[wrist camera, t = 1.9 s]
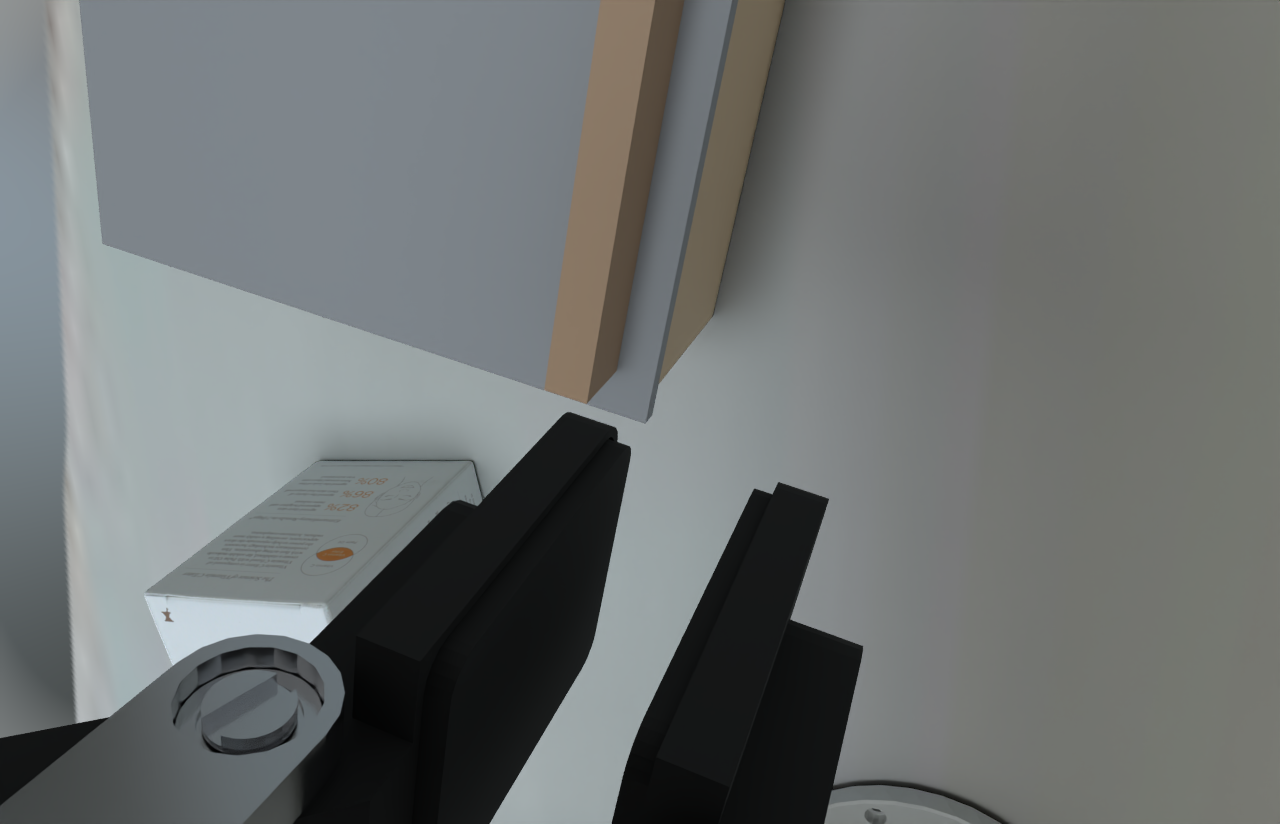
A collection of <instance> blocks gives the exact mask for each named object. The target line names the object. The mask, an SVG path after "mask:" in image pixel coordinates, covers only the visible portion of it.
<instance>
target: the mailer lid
mask: <svg viewBox="0 0 1280 824" xmlns="http://www.w3.org/2000/svg"><path fill="white" fill-rule="evenodd" d="M79 3H80V14H81V24H82V34H83V45H84V55H85V66H86V76H87V87H88V97H89V107H90V118H91V128H92V139H93V149H94V160H95V170H96V180H97V191H98V201H99V212H100V222H101V233H102V243H103V244H105V245H108V246H111V247H114V248H117V249H120V250H123V251H126V252H129V253H132V254H135V255H138V256H141V257H144V258H147V259H150V260H153V261H156V262H159V263H162V264H165V265H168V266H171V267H174V268H177V269H180V270H183V271H186V272H189V273H192V274H195V275H198V276H201V277H204V278H207V279H210V280H213V281H216V282H219V283H222V284H226V285H229V286H232V287H235V288H238V289H241V290H244V291H247V292H250V293H253V294H256V295H259V296H262V297H265V298H268V299H271V300H274V301H277V302H280V303H283V304H286V305H289V306H292V307H295V308H298V309H301V310H304V311H307V312H310V313H313V314H316V315H319V316H322V317H325V318H328V319H331V320H334V321H337V322H340V323H343V324H346V325H349V326H352V327H355V328H358V329H361V330H364V331H367V332H370V333H373V334H376V335H379V336H382V337H385V338H388V339H391V340H394V341H397V342H401V343H404V344H407V345H410V346H413V347H416V348H419V349H422V350H425V351H428V352H431V353H434V354H437V355H440V356H443V357H446V358H449V359H452V360H455V361H458V362H461V363H464V364H467V365H470V366H473V367H476V368H479V369H482V370H485V371H488V372H491V373H494V374H497V375H500V376H503V377H506V378H509V379H512V380H515V381H518V382H521V383H524V384H527V385H530V386H533V387H536V388H539V389H542V390H545V391H548V392H551V393H554V394H557V395H560V396H563V397H566V398H569V399H572V400H576V401H579V402H582V403H585V404H588V405H591V406H594V407H597V408H600V409H603V410H606V411H609V412H612V413H615V414H618V415H621V416H624V417H627V418H630V419H633V420H636V421H639V422H642V423H646V422H647V421H648V419H649V418H650V417H651V416H652V413H653V408H654V403H655V399H656V394H657V389H658V384H659V379H660V375H661V370H662V365H663V360H664V355H665V351H666V346H667V341H668V336H669V331H670V326H671V322H672V317H673V312H674V307H675V302H676V298H677V293H678V288H679V283H680V278H681V274H682V269H683V264H684V259H685V254H686V250H687V245H688V240H689V235H690V230H691V225H692V221H693V216H694V211H695V206H696V201H697V197H698V192H699V187H700V182H701V177H702V173H703V168H704V163H705V158H706V153H707V149H708V144H709V139H710V134H711V129H712V125H713V120H714V115H715V110H716V105H717V100H718V96H719V91H720V86H721V81H722V76H723V72H724V67H725V62H726V57H727V52H728V48H729V43H730V38H731V33H732V28H733V24H734V19H735V14H736V9H737V4H738V0H79Z"/></svg>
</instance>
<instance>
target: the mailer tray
mask: <svg viewBox="0 0 1280 824" xmlns="http://www.w3.org/2000/svg"><path fill="white" fill-rule="evenodd" d="M784 4H785V0H738V4H737V9H736V14H735V19H734V24H733V28H732V33H731V38H730V43H729V48H728V52H727V57H726V62H725V67H724V72H723V76H722V81H721V86H720V91H719V96H718V100H717V105H716V110H715V115H714V120H713V125H712V129H711V134H710V139H709V144H708V149H707V153H706V158H705V163H704V168H703V173H702V177H701V182H700V187H699V192H698V197H697V201H696V206H695V211H694V216H693V221H692V225H691V230H690V235H689V240H688V245H687V250H686V254H685V259H684V264H683V269H682V274H681V278H680V283H679V288H678V293H677V298H676V302H675V307H674V312H673V317H672V322H671V326H670V331H669V336H668V341H667V346H666V351H665V355H664V360H663V365H662V370H661V375H660V379H659V383H660V382H661V381H662V379H663V378H664V377H665V376H666V374H667V373H668V372H669V371H670V369H671V368H672V367H673V366H674V364H675V363H676V362H677V360H678V359H679V358H680V357H681V355H682V354H683V353H684V352H685V350H686V349H687V348H688V347H689V345H690V344H691V343H692V342H693V340H694V339H695V338H696V337H697V335H698V334H699V333H700V332H701V330H702V329H703V328H704V327H705V325H706V324H707V323H708V321H709V320H710V319H711V318H712V316H713V313H714V309H715V304H716V300H717V296H718V291H719V287H720V282H721V278H722V274H723V269H724V265H725V261H726V256H727V252H728V248H729V243H730V239H731V235H732V230H733V226H734V222H735V217H736V213H737V208H738V204H739V200H740V195H741V191H742V187H743V182H744V178H745V174H746V169H747V165H748V161H749V156H750V152H751V147H752V143H753V139H754V134H755V130H756V126H757V121H758V117H759V113H760V108H761V104H762V100H763V95H764V91H765V86H766V82H767V78H768V73H769V69H770V65H771V60H772V56H773V52H774V47H775V43H776V39H777V34H778V30H779V26H780V21H781V17H782V12H783V8H784Z"/></svg>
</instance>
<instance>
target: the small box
mask: <svg viewBox="0 0 1280 824" xmlns="http://www.w3.org/2000/svg"><path fill="white" fill-rule="evenodd" d="M456 500H462V501H465V502H468V503H470V504H473V505H476V506H478V505H479V504H480V503H481V502H482V497H481V493H480V489H479V485H478V481H477V477H476V473H475V469H474V465H473V462H471V461H317V462H315V463H314V464H312V465H311V466H310V467H309V468H307V469H306V470H305V471H303V472H302V473H301V474H299V475H298V476H297V477H295V478H294V479H293V480H291V481H290V482H288V483H287V484H286V485H284V486H283V487H282V488H281V489H279V490H278V491H277V492H275V493H274V494H273V495H271V496H270V497H269V498H268V499H266V500H265V501H264V502H262V503H261V504H260V505H258V506H257V507H256V508H254V509H253V510H252V511H250V512H249V513H248V514H247V515H245V516H244V517H242V518H241V519H240V520H239V521H237V522H236V523H235V524H233V525H232V526H231V527H230V528H228V529H227V530H226V531H224V532H223V533H222V534H220V535H219V536H218V537H216V538H215V539H214V540H212V541H211V542H210V543H209V544H207V545H206V546H205V547H203V548H202V549H201V550H200V551H198V552H197V553H196V554H194V555H193V556H192V557H191V558H189V559H188V560H187V561H185V562H184V563H182V564H181V565H180V566H179V567H177V568H176V569H175V570H173V571H172V572H171V573H169V574H168V575H167V576H165V577H164V578H163V579H162V580H160V581H159V582H158V583H156V584H155V585H154V586H152V587H151V588H149V589H148V590H147V591H146V592H145V593H144V596H145V600H146V602H147V604H148V607H149V609H150V612H151V614H152V617H153V620H154V622H155V625H156V627H157V629H158V632H159V634H160V637H161V639H162V641H163V644H164V646H165V648H166V651H167V653H168V656H169V658H170V661H171V663H172V665H175V664H176V663H177V662H179V661H180V660H182V659H184V658H185V657H187V656H188V655H190V654H192V653H193V652H195V651H196V650H198V649H200V648H201V647H204V646H207V645H210V644H213V643H215V642H218V641H221V640H224V639H227V638H232V637H239V636H246V635H253V634H264V635H279V636H286V637H290V638H293V639H296V640H300V641H303V642H306V643H310V642H311V641H312V640H313V639H314V638H315V637H316V636H317V635H318V634H319V633H320V632H321V631H322V630H323V629H324V628H325V627H326V626H327V625H328V624H329V623H330V622H331V621H332V620H333V619H334V618H335V617H336V616H337V615H338V614H339V613H340V612H341V611H342V610H343V609H344V608H345V607H346V606H347V605H348V604H349V603H350V602H351V601H352V600H353V599H354V598H355V597H356V596H357V595H358V594H359V593H360V592H361V591H362V590H363V589H364V588H365V587H366V586H367V585H368V584H369V583H370V582H371V581H372V580H373V579H374V578H375V577H376V576H377V575H378V574H379V573H380V572H381V571H382V570H383V569H384V568H385V567H386V566H387V565H388V564H389V563H390V562H391V561H392V560H393V559H394V558H395V557H396V556H397V555H398V554H399V553H400V552H401V551H402V550H403V549H404V548H405V547H406V546H407V545H408V544H409V543H410V542H411V541H412V540H413V539H414V538H415V537H416V536H417V535H418V534H419V533H420V532H421V531H422V530H423V529H424V528H425V527H426V526H427V525H428V523H429V522H430V521H431V520H432V519H433V518H434V517H435V516H436V515H437V514H438V513H439V512H440V511H441V510H442V509H443V508H445V507H446V506H447V505H448V504H450V503H451V502H452V501H456Z"/></svg>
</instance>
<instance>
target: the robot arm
mask: <svg viewBox="0 0 1280 824" xmlns="http://www.w3.org/2000/svg"><path fill="white" fill-rule="evenodd" d="M617 439H618V431H617V429H616V428H615V427H612V426H610V425H607V424H604V423H601V422H598V421H595V420H592V419H589V418H586V417H583V416H580V415H577V414H574V413H571V412H567V413H565V414H564V415H563V416H562V417H561V418H560V419H559V420H558V421H557V422H556V423H555V424H554V425H553V426H552V427H551V428H550V429H549V430H548V431H547V433H546V434H545V435H544V436H543V437H542V438H541V439H540V440H539V441H538V442H537V443H536V444H535V445H534V446H533V447H532V449H531V450H530V451H529V452H528V453H527V454H526V455H525V456H524V457H523V458H522V459H521V460H520V461H519V462H518V463H517V465H516V466H515V467H514V468H513V469H512V470H511V471H510V472H509V473H508V474H507V475H506V476H505V477H504V478H503V479H502V480H501V482H500V483H499V484H498V485H497V486H496V487H495V488H494V489H493V490H492V491H491V492H490V493H489V494H488V495H487V496H486V498H485V499H484V500H483V501H482V502H481V503H480V504H479V505H478V506H476V505H473V504H470V503H468V502H465V501H462V500H456V501H452V502H451V503H450V504H448V505H447V506H446V507H445V508H443V509H442V510H441V511H440V512H439V513H438V514H437V515H436V516H435V517H434V518H433V519H432V520H431V521H430V522H429V523H428V525H427V526H426V527H425V528H424V529H423V530H422V531H421V532H420V533H419V534H418V535H417V536H416V537H415V538H414V539H413V540H412V541H411V542H410V543H409V544H408V545H407V546H406V547H405V548H404V549H403V550H402V551H401V552H400V553H399V554H398V555H397V556H396V557H395V558H394V559H393V560H392V561H391V562H390V563H389V564H388V565H387V566H386V567H385V568H384V569H383V570H382V571H381V572H380V573H379V574H378V575H377V576H376V577H375V578H374V579H373V580H372V581H371V582H370V583H369V584H368V585H367V586H366V587H365V588H364V589H363V590H362V591H361V592H360V593H359V594H358V595H357V596H356V597H355V598H354V599H353V600H352V601H351V602H350V603H349V604H348V605H347V606H346V607H345V608H344V609H343V610H342V611H341V612H340V613H339V614H338V615H337V616H336V617H335V618H334V619H333V620H332V621H331V622H330V623H329V624H328V625H327V626H326V627H325V628H324V629H323V630H322V631H321V632H320V633H319V634H318V635H317V636H316V637H315V638H314V639H313V640H312V641H311V642H310V643H306V642H303V641H300V640H296V639H293V638H290V637H286V636H279V635H264V634H253V635H246V636H239V637H232V638H227V639H224V640H221V641H218V642H215V643H213V644H210V645H207V646H204V647H201V648H200V649H198V650H196V651H195V652H193V653H192V654H190V655H188V656H187V657H185V658H184V659H182V660H180V661H179V662H177V663H176V664H175V665H173V666H172V667H171V668H170V669H168V670H167V671H166V672H165V673H163V674H162V675H161V676H160V677H159V678H157V679H156V680H155V681H154V682H152V683H151V684H150V685H149V686H147V687H146V688H145V689H144V690H142V691H141V692H140V693H139V694H138V695H136V696H135V697H134V698H133V699H131V700H130V701H129V702H128V703H126V704H125V705H124V706H123V707H122V708H120V709H119V710H118V711H117V712H115V713H114V714H113V715H112V716H110V717H108V718H103V719H98V720H93V721H88V722H82V723H77V724H72V725H67V726H61V727H57V728H51V729H46V730H41V731H35V732H30V733H25V734H20V735H15V736H9V737H4V738H0V824H490V822H491V820H492V819H493V817H494V815H495V814H496V812H497V810H498V809H499V807H500V805H501V803H502V802H503V800H504V798H505V797H506V795H507V793H508V792H509V790H510V788H511V787H512V785H513V783H514V782H515V780H516V778H517V777H518V775H519V773H520V772H521V770H522V768H523V767H524V765H525V763H526V761H527V760H528V758H529V756H530V755H531V753H532V751H533V750H534V748H535V746H536V745H537V743H538V741H539V740H540V738H541V736H542V735H543V733H544V731H545V730H546V728H547V726H548V725H549V723H550V721H551V720H552V718H553V716H554V714H555V713H556V711H557V709H558V708H559V706H560V704H561V703H562V701H563V699H564V698H565V696H566V694H567V693H568V691H569V689H570V688H571V686H572V684H573V683H574V681H575V679H576V678H577V676H578V674H579V673H580V671H581V669H582V667H583V665H584V664H585V661H586V659H587V657H588V655H589V652H590V649H591V647H592V643H593V640H594V636H595V632H596V627H597V622H598V617H599V612H600V607H601V602H602V597H603V592H604V587H605V582H606V577H607V572H608V567H609V562H610V557H611V552H612V547H613V542H614V537H615V532H616V527H617V522H618V517H619V512H620V507H621V502H622V498H623V493H624V488H625V483H626V478H627V473H628V468H629V463H630V456H631V448H630V446H627V445H624V444H621V443H618V442H617ZM828 501H829V499H828V498H825V497H822V496H819V495H816V494H813V493H810V492H807V491H804V490H801V489H798V488H795V487H792V486H789V485H786V484H783V483H780V482H779V483H778V484H777V486H776V488H775V490H774V493H773V495H772V494H769V493H766V492H763V491H760V490H757V489H754V490H753V492H752V494H751V496H750V498H749V500H748V502H747V504H746V506H745V508H744V511H743V513H742V515H741V517H740V519H739V521H738V523H737V525H736V527H735V529H734V531H733V533H732V535H731V538H730V540H729V542H728V544H727V546H726V548H725V550H724V552H723V554H722V556H721V558H720V560H719V563H718V565H717V567H716V569H715V571H714V573H713V575H712V577H711V579H710V581H709V583H708V585H707V587H706V590H705V592H704V594H703V596H702V598H701V600H700V602H699V604H698V606H697V608H696V610H695V612H694V614H693V617H692V619H691V621H690V623H689V625H688V627H687V629H686V631H685V633H684V635H683V637H682V639H681V641H680V644H679V646H678V648H677V650H676V652H675V654H674V656H673V658H672V660H671V662H670V664H669V666H668V668H667V671H666V673H665V675H664V677H663V679H662V681H661V683H660V685H659V687H658V689H657V691H656V693H655V695H654V698H653V700H652V702H651V704H650V706H649V708H648V710H647V712H646V714H645V716H644V719H643V721H642V723H641V725H640V728H639V730H638V733H637V735H636V738H635V740H634V743H633V746H632V749H631V752H630V755H629V758H628V761H627V764H626V767H625V771H624V775H623V779H622V783H621V787H620V791H619V795H618V799H617V803H616V808H615V812H614V816H613V820H612V824H1001V823H999V822H998V821H996V820H994V819H992V818H990V817H989V816H987V815H985V814H983V813H981V812H980V811H978V810H976V809H974V808H972V807H970V806H967V805H965V804H962V803H959V802H957V801H954V800H952V799H949V798H947V797H944V796H941V795H937V794H933V793H929V792H925V791H920V790H916V789H912V788H904V787H894V786H885V785H872V786H851V787H847V788H842V789H837V790H832V787H833V783H834V779H835V774H836V770H837V765H838V761H839V756H840V752H841V747H842V743H843V739H844V734H845V730H846V725H847V721H848V716H849V712H850V707H851V703H852V699H853V694H854V690H855V685H856V681H857V676H858V672H859V667H860V663H861V658H862V653H863V646H861V645H858V644H855V643H853V642H850V641H847V640H844V639H842V638H839V637H836V636H833V635H831V634H828V633H825V632H822V631H820V630H817V629H814V628H811V627H809V626H806V625H803V624H800V623H798V622H795V621H792V620H790V618H791V615H792V612H793V609H794V606H795V603H796V600H797V597H798V594H799V590H800V587H801V584H802V581H803V578H804V575H805V572H806V569H807V566H808V563H809V560H810V557H811V553H812V550H813V547H814V544H815V541H816V538H817V535H818V532H819V529H820V526H821V523H822V520H823V517H824V513H825V510H826V507H827V504H828Z"/></svg>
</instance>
